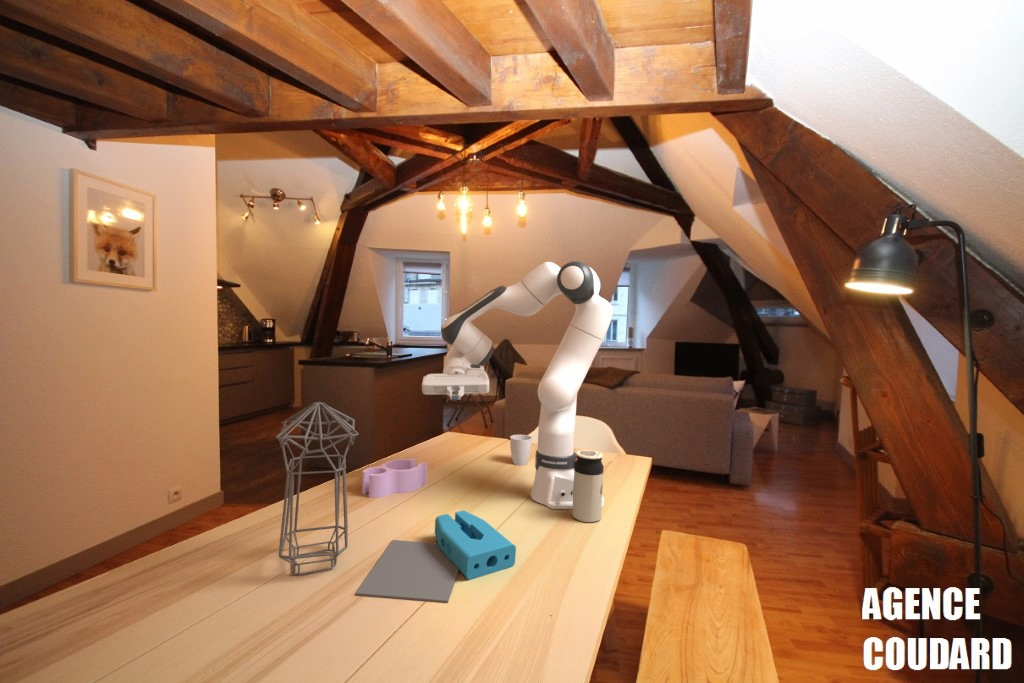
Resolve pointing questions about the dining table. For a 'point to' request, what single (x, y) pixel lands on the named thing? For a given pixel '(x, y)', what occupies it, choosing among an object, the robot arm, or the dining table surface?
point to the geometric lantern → (300, 417)
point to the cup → (520, 448)
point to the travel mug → (588, 486)
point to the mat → (411, 573)
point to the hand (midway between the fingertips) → (455, 397)
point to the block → (473, 544)
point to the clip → (394, 477)
